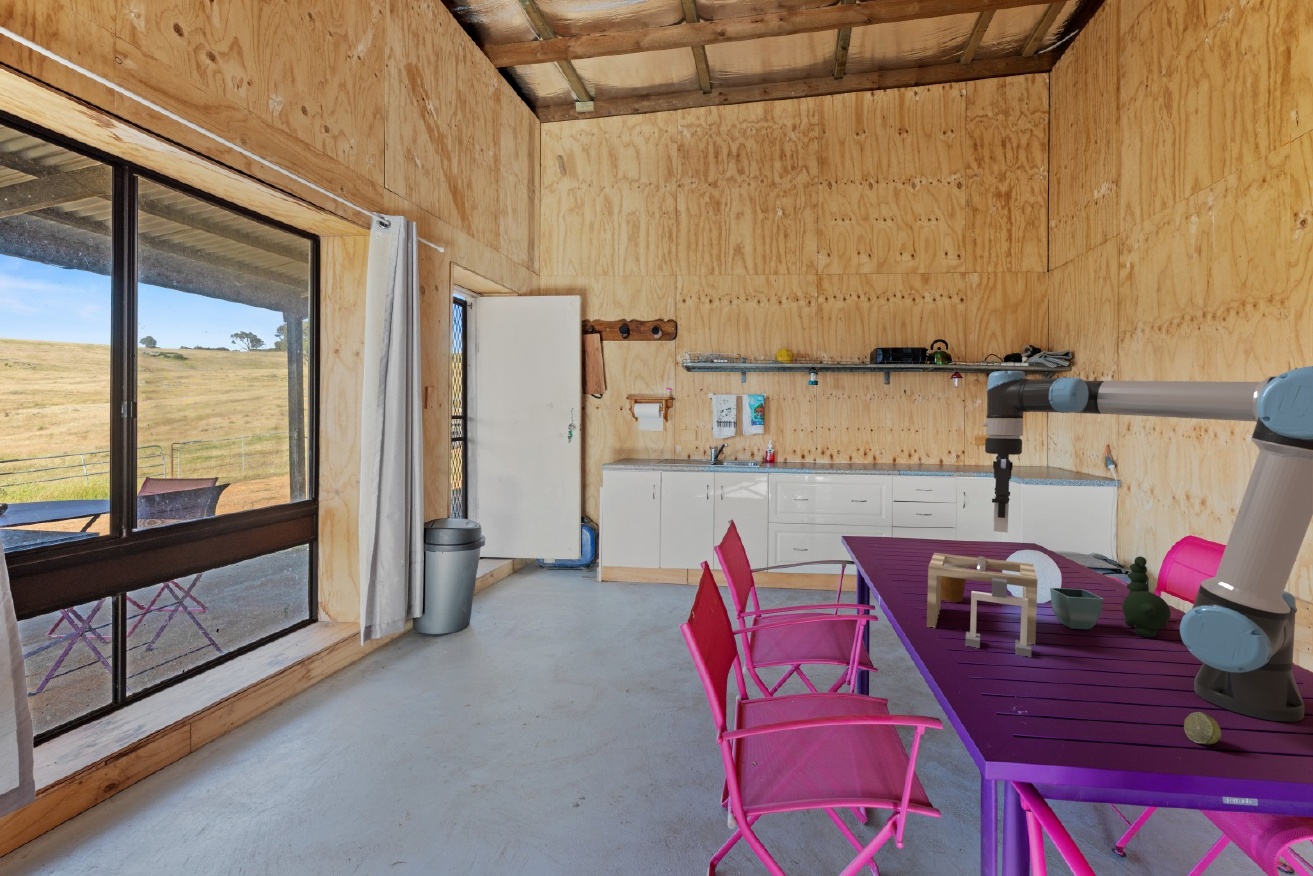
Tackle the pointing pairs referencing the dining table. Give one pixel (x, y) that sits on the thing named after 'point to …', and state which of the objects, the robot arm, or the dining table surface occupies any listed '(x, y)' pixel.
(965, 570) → the beige wooden frame
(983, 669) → the dining table surface
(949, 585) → the disposable coffee cup
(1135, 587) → the dark green tiered figure
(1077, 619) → the flower pot
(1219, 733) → the lime
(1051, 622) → the dining table surface
